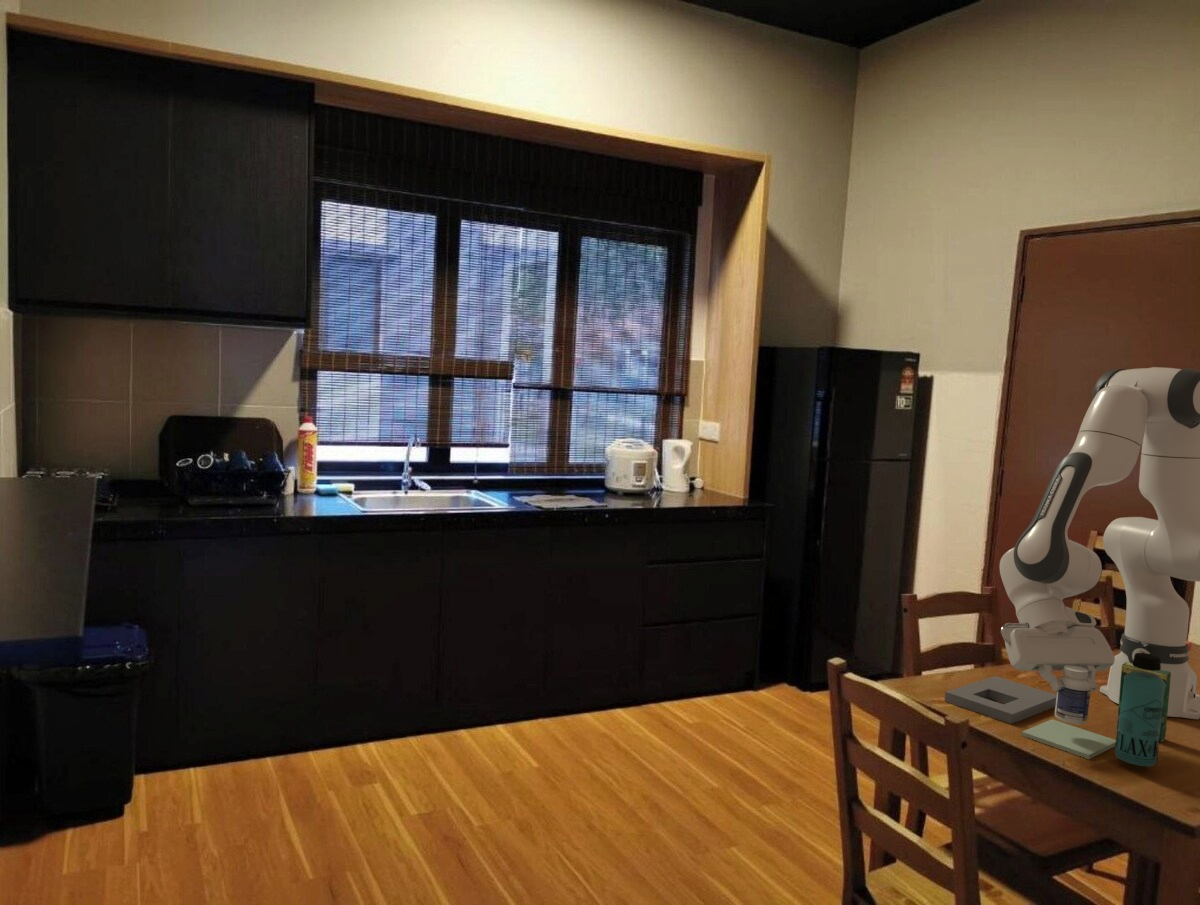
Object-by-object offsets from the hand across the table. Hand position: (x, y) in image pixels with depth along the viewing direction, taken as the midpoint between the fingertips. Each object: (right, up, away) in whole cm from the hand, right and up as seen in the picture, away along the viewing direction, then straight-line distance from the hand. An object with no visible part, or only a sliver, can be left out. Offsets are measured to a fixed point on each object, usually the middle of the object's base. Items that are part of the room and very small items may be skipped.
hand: (1076, 690), depth 164 cm
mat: (0, -10, +1) cm, 10 cm away
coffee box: (+16, -10, +7) cm, 20 cm away
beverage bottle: (+5, -11, -9) cm, 15 cm away
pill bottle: (0, -6, +1) cm, 6 cm away
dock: (-5, -8, +20) cm, 22 cm away
